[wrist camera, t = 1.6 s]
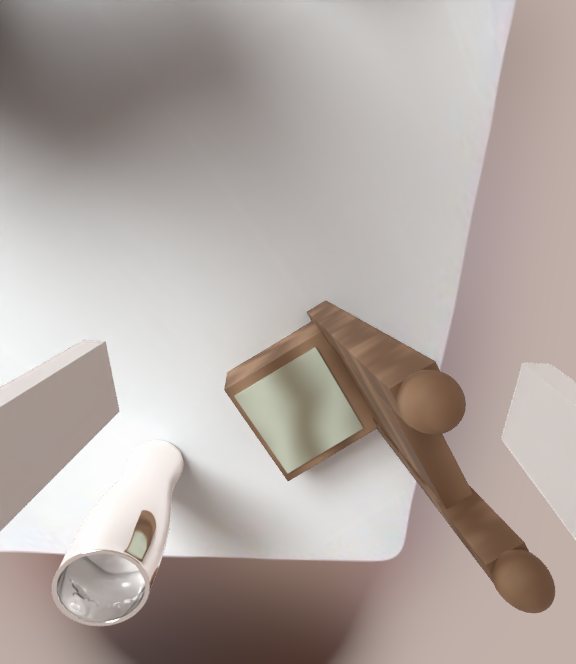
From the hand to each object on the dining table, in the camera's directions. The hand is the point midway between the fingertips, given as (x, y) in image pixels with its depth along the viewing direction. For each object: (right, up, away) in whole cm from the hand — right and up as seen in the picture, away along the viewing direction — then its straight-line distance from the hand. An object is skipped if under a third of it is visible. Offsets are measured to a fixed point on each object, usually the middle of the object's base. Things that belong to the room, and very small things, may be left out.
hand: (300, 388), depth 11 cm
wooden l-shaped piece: (+2, -4, +27) cm, 28 cm away
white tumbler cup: (-15, -13, +28) cm, 34 cm away
